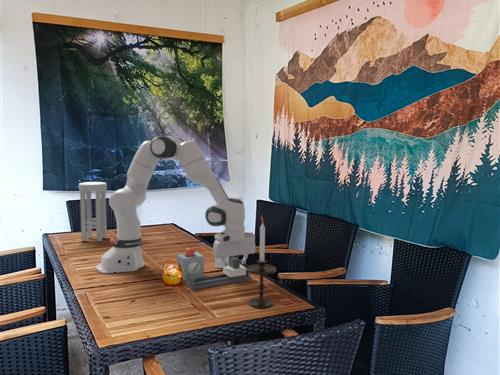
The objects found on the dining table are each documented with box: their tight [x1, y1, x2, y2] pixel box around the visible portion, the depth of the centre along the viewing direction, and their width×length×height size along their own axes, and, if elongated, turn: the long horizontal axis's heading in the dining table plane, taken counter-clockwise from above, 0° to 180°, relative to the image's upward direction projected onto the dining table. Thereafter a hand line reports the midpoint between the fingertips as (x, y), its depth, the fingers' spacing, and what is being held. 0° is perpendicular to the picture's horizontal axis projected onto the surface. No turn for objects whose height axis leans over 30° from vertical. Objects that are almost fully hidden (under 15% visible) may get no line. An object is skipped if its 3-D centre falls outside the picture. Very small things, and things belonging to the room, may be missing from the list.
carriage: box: [222, 256, 247, 277], centre depth 199 cm, size 8×7×7 cm
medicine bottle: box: [214, 256, 234, 269], centre depth 218 cm, size 7×7×12 cm
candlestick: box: [247, 215, 277, 310], centre depth 168 cm, size 11×11×35 cm
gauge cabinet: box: [176, 251, 205, 282], centre depth 201 cm, size 10×9×10 cm
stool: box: [78, 181, 108, 242], centre depth 268 cm, size 16×16×35 cm
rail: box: [185, 267, 251, 291], centre depth 195 cm, size 28×8×4 cm, turn 120°
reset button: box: [185, 247, 196, 257], centre depth 201 cm, size 4×4×4 cm
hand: (234, 264), depth 198 cm, fingers open, 8 cm apart
